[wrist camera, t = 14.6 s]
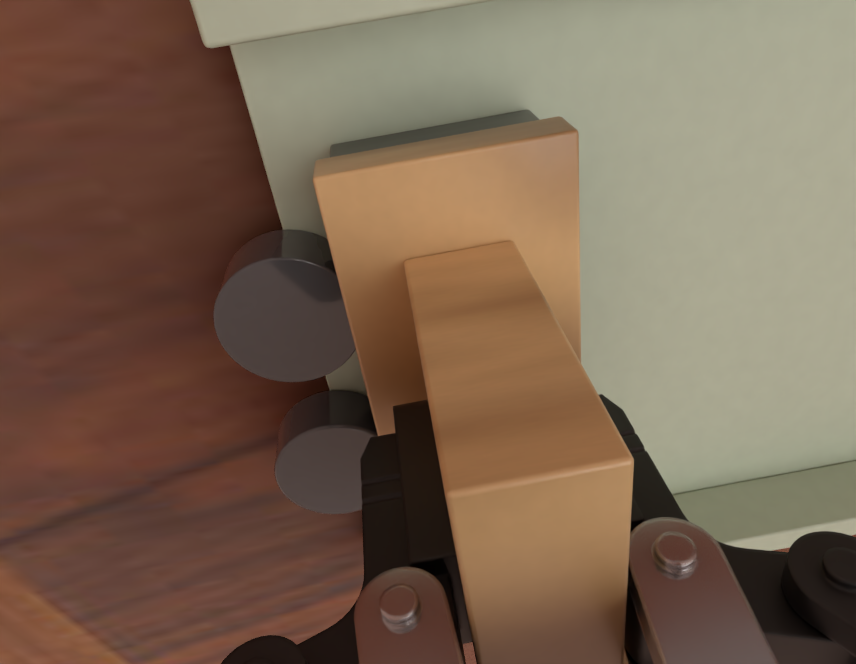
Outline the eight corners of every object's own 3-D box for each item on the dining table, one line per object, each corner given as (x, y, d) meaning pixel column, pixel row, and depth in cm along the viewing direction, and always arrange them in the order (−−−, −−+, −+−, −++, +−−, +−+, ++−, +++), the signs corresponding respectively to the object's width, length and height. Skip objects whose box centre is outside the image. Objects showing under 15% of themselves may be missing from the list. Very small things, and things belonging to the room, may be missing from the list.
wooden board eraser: (555, 470, 18) (683, 793, 11) (404, 498, 18) (441, 840, 11) (539, 95, 12) (780, 295, 5) (317, 136, 12) (283, 387, 5)
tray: (219, -24, 11) (184, -10, 9) (1370, -216, 12) (1647, -255, 9) (378, 539, 20) (383, 625, 18) (1033, 416, 21) (1129, 484, 18)
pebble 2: (266, 398, 15) (259, 437, 14) (386, 379, 15) (390, 416, 14) (293, 483, 17) (289, 524, 16) (402, 465, 17) (406, 505, 16)
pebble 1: (206, 239, 13) (192, 270, 12) (348, 218, 13) (348, 247, 12) (245, 355, 15) (236, 393, 13) (372, 336, 15) (374, 371, 14)
